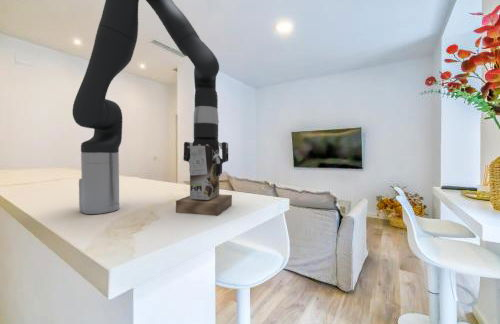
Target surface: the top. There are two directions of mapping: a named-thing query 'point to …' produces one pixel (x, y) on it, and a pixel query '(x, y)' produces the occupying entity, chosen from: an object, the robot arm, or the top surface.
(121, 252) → the top surface
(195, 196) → the coffee box
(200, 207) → the walnut block
